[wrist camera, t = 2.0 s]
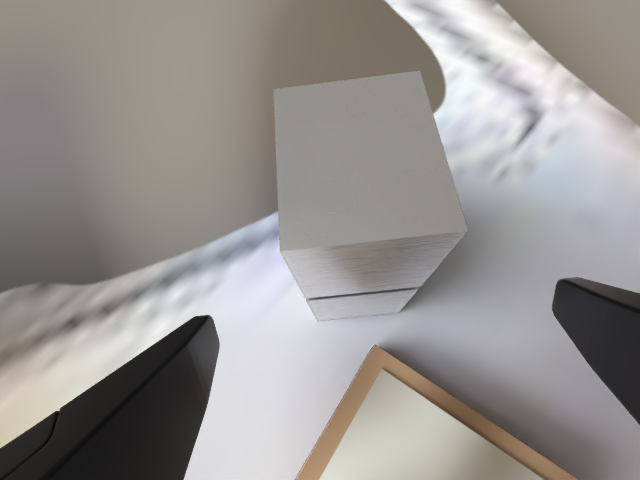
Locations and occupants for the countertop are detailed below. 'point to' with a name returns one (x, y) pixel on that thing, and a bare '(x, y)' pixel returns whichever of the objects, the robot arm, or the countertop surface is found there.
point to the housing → (362, 193)
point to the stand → (415, 434)
